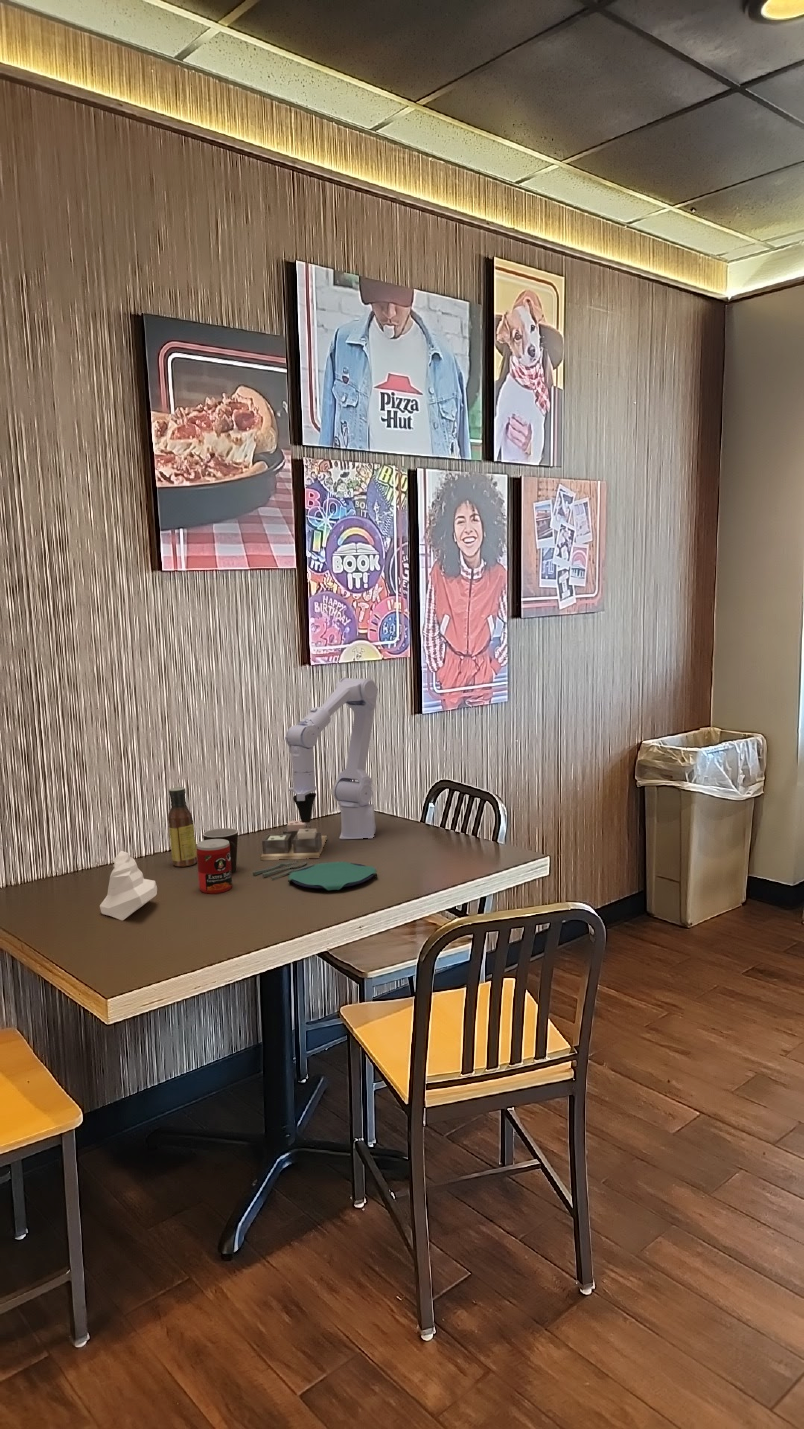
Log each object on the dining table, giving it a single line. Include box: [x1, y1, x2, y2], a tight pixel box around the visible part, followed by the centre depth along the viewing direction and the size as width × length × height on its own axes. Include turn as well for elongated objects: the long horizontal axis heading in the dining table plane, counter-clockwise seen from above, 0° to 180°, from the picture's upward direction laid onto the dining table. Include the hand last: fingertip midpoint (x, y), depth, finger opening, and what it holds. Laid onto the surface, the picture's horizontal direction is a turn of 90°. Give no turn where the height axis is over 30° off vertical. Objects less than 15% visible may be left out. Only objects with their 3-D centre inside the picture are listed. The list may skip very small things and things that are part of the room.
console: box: [260, 824, 328, 861], centre depth 256 cm, size 15×19×4 cm
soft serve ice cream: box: [99, 850, 158, 921], centre depth 212 cm, size 12×15×14 cm
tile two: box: [268, 835, 287, 840], centre depth 252 cm, size 4×4×3 cm
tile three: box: [286, 820, 307, 831], centre depth 261 cm, size 4×4×3 cm
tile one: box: [297, 828, 318, 839], centre depth 252 cm, size 4×4×3 cm
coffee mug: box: [202, 827, 239, 874], centre depth 236 cm, size 12×9×10 cm
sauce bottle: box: [167, 786, 198, 868], centre depth 245 cm, size 6×6×20 cm
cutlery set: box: [252, 859, 378, 891], centre depth 231 cm, size 20×30×2 cm, turn 50°
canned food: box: [196, 839, 233, 894], centre depth 225 cm, size 8×8×11 cm
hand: (306, 821), depth 251 cm, fingers closed
